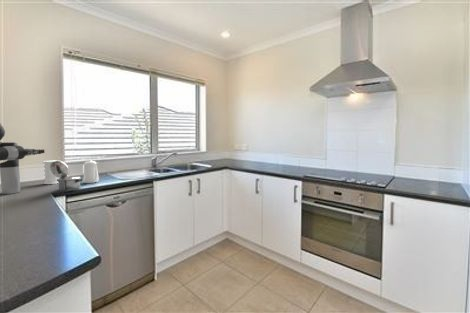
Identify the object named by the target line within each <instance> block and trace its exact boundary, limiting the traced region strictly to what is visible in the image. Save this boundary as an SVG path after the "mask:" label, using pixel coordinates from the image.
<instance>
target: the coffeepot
mask: <svg viewBox="0 0 470 313" xmlns="http://www.w3.org/2000/svg"><path fill="white" fill-rule="evenodd" d="M98 164H100V161H97V162H96V161H95V160H92V159H88V160H87V161H85V162H84V163H83V165H82V173H83V174H82V175H83V179H82V181H83V183H84V184H94V183H95V182H96V183H98V182H99V181H100V176H99V173H98V172H99V171H98Z"/></svg>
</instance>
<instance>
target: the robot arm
mask: <svg viewBox="0 0 470 313" xmlns="http://www.w3.org/2000/svg"><path fill="white" fill-rule="evenodd" d="M5 135H6V130H5V128H4V126H3V125H2V123H1V122H0V161H1V162H0V188H1V194H2V195H12V194H18V193H21V192H22V191H21V190H22V188H21V177H20V176H21V175H20V163H19V160H22V159H24V158H25V157H30V156H35V155H41V154H45V153H46V152H45V149H35V148H24V147H23V146H22V145H19V144H18V143H16V142H14V141H13V142H1V141H2V139H3V138H4V137H5ZM2 161H3V162H2Z"/></svg>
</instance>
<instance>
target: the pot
mask: <svg viewBox="0 0 470 313" xmlns="http://www.w3.org/2000/svg"><path fill="white" fill-rule="evenodd" d="M82 181H83V179H82V178H81V176H67V177H65V179H60V178H59V179H57V182H58V184H57V185H58V192H69V191H70V192H71V191H77V190H80V189H81V188H82V186H81V182H82Z"/></svg>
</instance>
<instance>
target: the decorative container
mask: <svg viewBox="0 0 470 313" xmlns="http://www.w3.org/2000/svg"><path fill="white" fill-rule="evenodd" d="M54 161H61V160H60V159H59V160H58V159H57V160H43V161H42V164H44V165H43V167H44V170H43V171H44V176H45V178H44V180H45V181H44V182H43V184H53V185H58V184H57V183H58V182H57V179H59V178H58V177H56V176H55V175H54V174H53V173H52V172H51V169H50V166H51V164H52V163H53V162H54Z"/></svg>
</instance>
